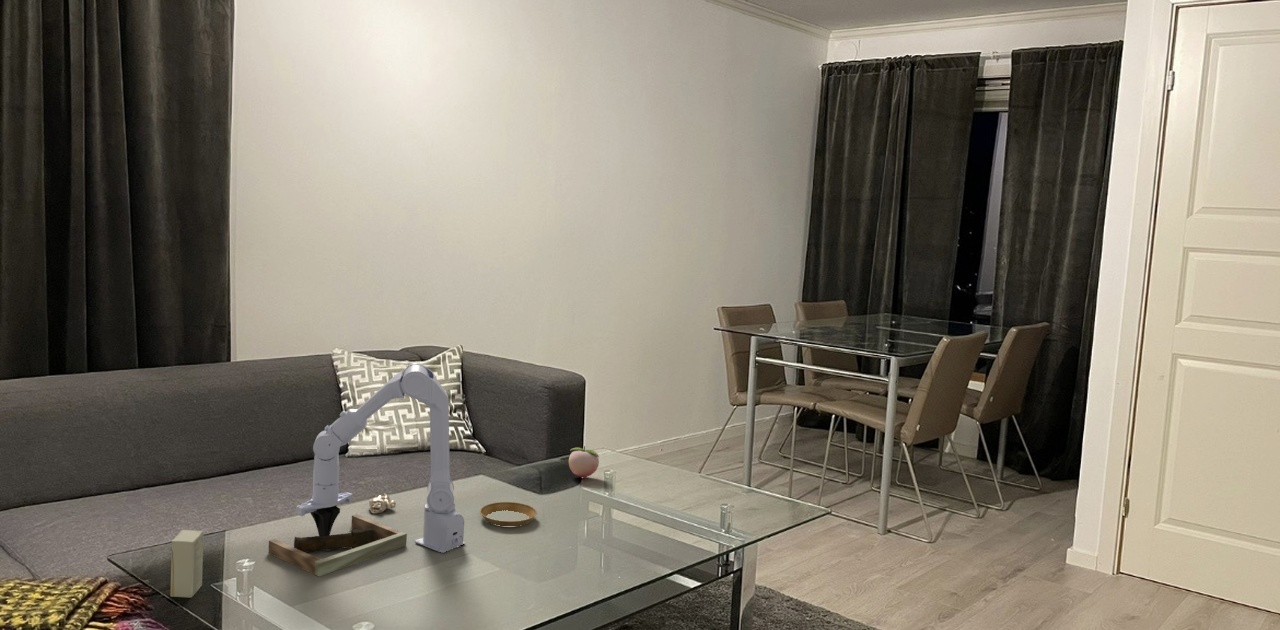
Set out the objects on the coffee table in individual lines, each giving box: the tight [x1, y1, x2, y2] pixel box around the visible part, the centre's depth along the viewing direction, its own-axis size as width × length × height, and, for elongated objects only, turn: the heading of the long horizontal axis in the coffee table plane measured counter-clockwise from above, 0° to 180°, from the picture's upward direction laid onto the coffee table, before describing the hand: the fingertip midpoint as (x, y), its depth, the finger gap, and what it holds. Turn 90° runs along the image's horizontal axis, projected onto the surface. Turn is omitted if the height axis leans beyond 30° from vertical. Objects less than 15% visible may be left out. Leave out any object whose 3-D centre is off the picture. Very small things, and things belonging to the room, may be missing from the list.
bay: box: [268, 513, 408, 577], centre depth 230 cm, size 18×25×3 cm
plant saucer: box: [479, 501, 538, 527], centre depth 258 cm, size 15×15×3 cm
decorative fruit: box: [568, 445, 600, 478], centre depth 296 cm, size 9×8×10 cm
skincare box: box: [170, 529, 204, 599], centre depth 202 cm, size 6×4×12 cm
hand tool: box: [293, 528, 379, 553], centre depth 230 cm, size 19×4×5 cm, turn 113°
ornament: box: [368, 493, 397, 515], centre depth 258 cm, size 8×7×4 cm
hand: (323, 537), depth 233 cm, fingers closed
